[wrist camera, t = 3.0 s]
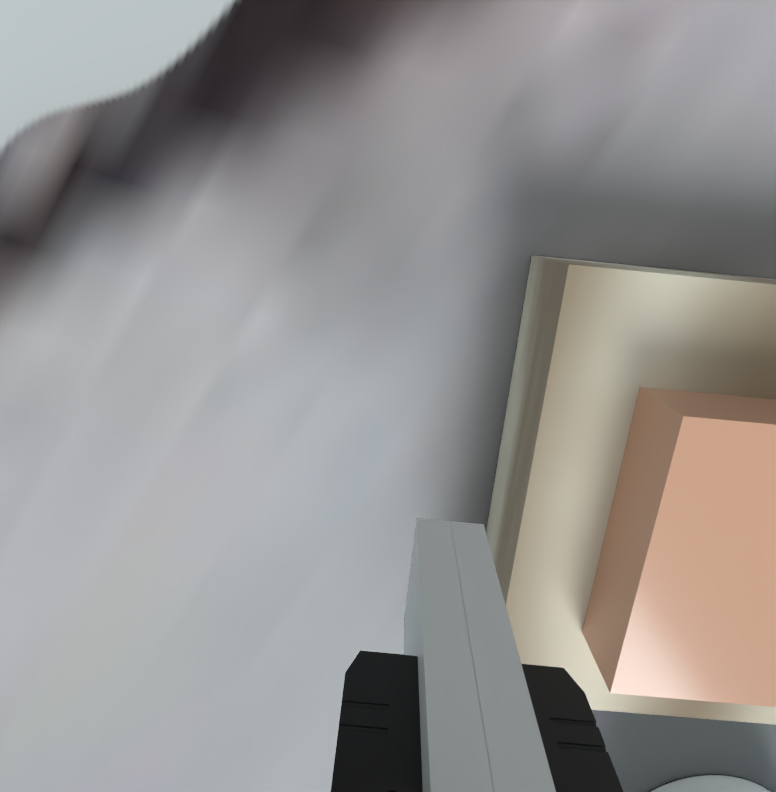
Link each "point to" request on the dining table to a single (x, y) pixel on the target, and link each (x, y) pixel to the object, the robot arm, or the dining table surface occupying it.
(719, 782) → the candle holder
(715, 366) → the birch board
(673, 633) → the terracotta tile
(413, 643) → the robot arm
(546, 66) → the dining table surface
